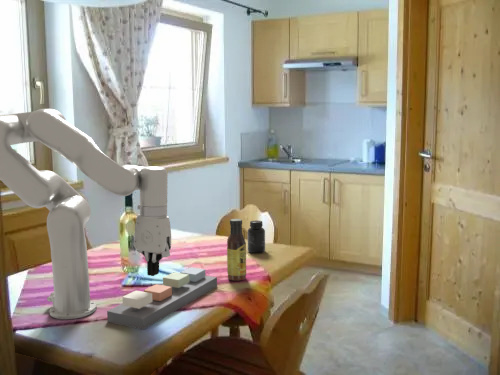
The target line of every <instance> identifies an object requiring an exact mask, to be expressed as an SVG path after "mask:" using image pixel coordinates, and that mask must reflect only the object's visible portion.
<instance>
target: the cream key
mask: <svg viewBox="0 0 500 375" xmlns="http://www.w3.org/2000/svg"><path fill="white" fill-rule="evenodd" d="M151 302H152V293H147V292H144V291H142V290H133V291H132V292H129V293H127V294H125V295H123V296H122V304H123V306H128V307H133V308H138V309H140V308H142V307H144V306H146V305H147V304H149V303H151Z"/></svg>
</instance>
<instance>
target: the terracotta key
mask: <svg viewBox="0 0 500 375" xmlns="http://www.w3.org/2000/svg"><path fill="white" fill-rule="evenodd" d="M143 292H147V293H152V300H156V301H162V300H163V299H165V298H167V297H169V296H171V295H172V287H169V286H164V285H161V284H157V283H156V284H153V285H152V286H149V287H147V288H145V289H144V290H143Z"/></svg>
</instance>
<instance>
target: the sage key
mask: <svg viewBox="0 0 500 375" xmlns="http://www.w3.org/2000/svg"><path fill="white" fill-rule="evenodd" d="M187 283H189V275H188V274H182V273H180V272H172V273H169V274H167V275H165V276H163V277H162V284H163V285H165V286H170V287H176V288H180V287H181V286H183V285H185V284H187Z"/></svg>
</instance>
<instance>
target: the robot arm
mask: <svg viewBox="0 0 500 375" xmlns="http://www.w3.org/2000/svg"><path fill="white" fill-rule="evenodd" d="M33 142H39V143H41V144H42V145H44V147H45V146H46V147H47V148H49V149H50V150H51V151H53V152H54V153H57V154H58V155H59V156H60V157H62V158H64V159H65V160H67V161H68V162H70V163H71V164H73V165H74V166H75V167H76V169H78V170H79V171H80V172H82V173H83V174H84V175H85V176H86V177H88V178H89V179H90V180H92V181H93V182H94V183H96V184H97V185H99V186H101V187H102V188H103V189H105V190H107V191H108V192H109V193H111V194H113V195H115V196H119V197H127V196H130V195H132V194H133V193H134V191H139V204H138V205H137V210H139V214H137V216H136V220H135V226H134V233H133V234H134V236H133V245H134V246H133V247H134V248H135V249H136V251H137V252H138V253H140V254H142V255H143V256H144V260H145V262H146V268H147V270H146V272H147V276H150V277H154V276H156V275H158V274H159V273H160V261H162V259H163V258H168V257H170V256H171V253H170V250H171V248H172V230H171V221H170V217H169V216H168V178H169V177H168V171H167V168H165V167H164V166H163V167H162V166H153V165H152V166H139V165H132V164H123V165H121V164H119V163H118V162H116V161H115V160H113V159H111V157H109V156H108V155H107V154H105V153H104V152H103V151H102V150H101V149H100V148H99V147H98V145H97V144H96V142H95V141H94V140H93V138H92V137H91V136H89V135H88V134H86V133H85V132H83V131H82V130H80V129H79V128H77V127H76V126H74V125H73V124H71V123H69V122H68V121H67V120H66V118H65V116H64V115H63V113H62V112H60V111H58V110H57V109H53V108H39V109H37V110H34V111H27V112H19V113H8V114H0V181H1V183H3V184H4V186H6V187H7V189H10V191H12V193H14V194H15V195H16V196H17V197H18V198H19V199H20V200H21V201H23V203H25V205H27V206H29V207H30V208H34V209H40V208H44V207H45V208H46V209H47V210H48V211H49V212H48V214H47V217H46V230H47V236H48V240H49V245H50V246H49V247H50V258H51V267H52V269H51V270H52V283H53V291H52V292H51V293H50V295H49V296H48V297H47V298H46V301H47V302H52V306H51V307H50V309H49V315H50V317H52V318H54V319H58V320H73V319H74V320H75V319H80V318H84V317H87V316H89V315H91V314H93V313H94V312H95V311H96V310H97V303H96V302H95V301H93V300H91V291H90V290H91V289H90V276H89V274H90V272H89V261H88V260H89V258H88V248H87V240H86V239H87V238H86V232H85V226H86V224H87V223H88V222H89V220H90V218H91V215H92V214H91V213H92V210H91V207H90V204H89V202H88V201H87V200H86V199H85V198H84V197H83V196H82V195H81V194H80V193H79V192H78V191H77V190H76V189H74V188H73V187H72V185H71V184H70V183H68V182H67V181H66V180H65V179H64V178H63V177H62V176H60V175H59V174H58V173H56V172H54V171H51V170H48V169H47V170H46V169H41V170H39V169H37V168H36V167H35V166H34V165H33V164H31V163H30V162H29V160H28V159H26V158H25V157H24V156H23V155H21V154H20V153H19V152H17V151H16V150H15V149H13V147H12V146H13V145H18V144H25V143H26V144H27V143H33Z"/></svg>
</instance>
